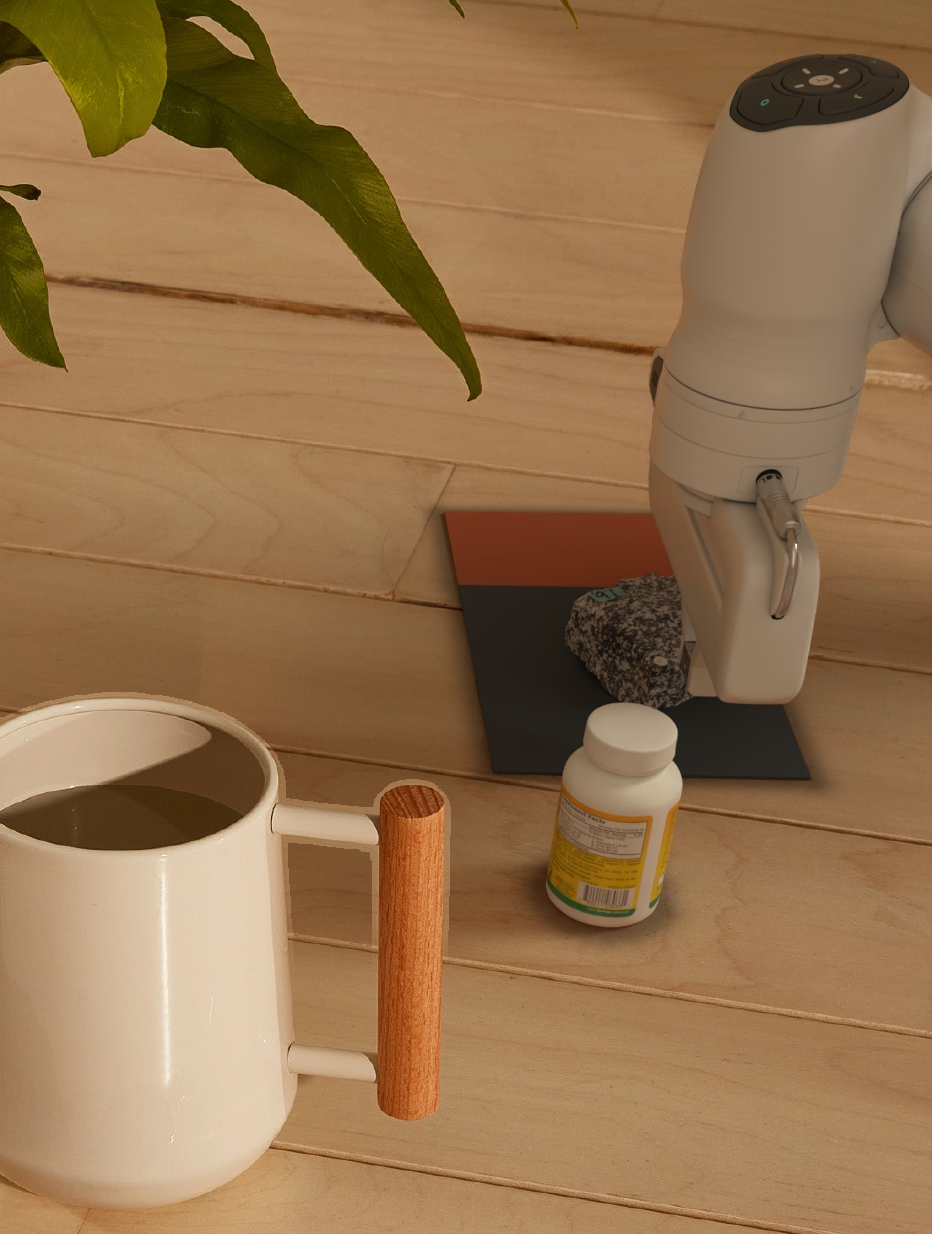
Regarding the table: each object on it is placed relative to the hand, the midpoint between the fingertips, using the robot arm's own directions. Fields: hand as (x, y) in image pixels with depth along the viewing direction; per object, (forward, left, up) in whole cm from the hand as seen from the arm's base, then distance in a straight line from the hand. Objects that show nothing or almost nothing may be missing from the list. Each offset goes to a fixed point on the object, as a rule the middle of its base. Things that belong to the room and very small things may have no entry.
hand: (699, 681), depth 108 cm
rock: (0, -10, -5) cm, 11 cm away
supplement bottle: (+6, +11, -5) cm, 14 cm away
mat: (+2, -13, -5) cm, 14 cm away
